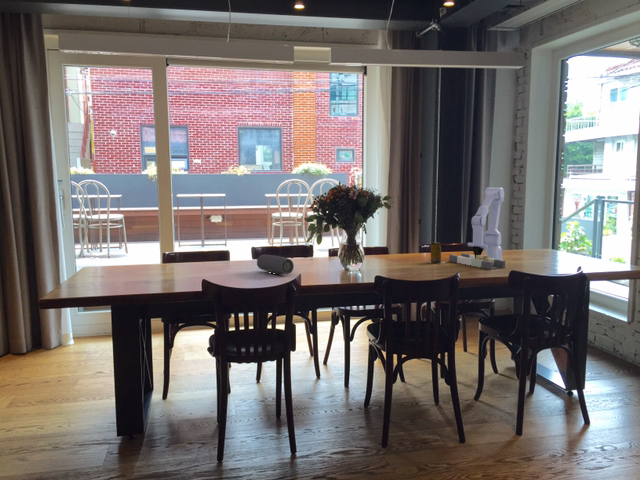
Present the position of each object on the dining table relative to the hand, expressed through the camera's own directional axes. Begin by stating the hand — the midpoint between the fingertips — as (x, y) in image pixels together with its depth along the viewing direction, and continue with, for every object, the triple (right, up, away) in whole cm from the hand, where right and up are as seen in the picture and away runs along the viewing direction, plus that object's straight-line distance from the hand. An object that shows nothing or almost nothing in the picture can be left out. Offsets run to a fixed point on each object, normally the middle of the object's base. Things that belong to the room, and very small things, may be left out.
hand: (477, 259), depth 314 cm
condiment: (-22, -2, +10) cm, 24 cm away
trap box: (0, -3, +1) cm, 3 cm away
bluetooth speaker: (-116, -7, -18) cm, 118 cm away
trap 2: (+6, -4, -11) cm, 13 cm away
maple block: (+2, -1, -3) cm, 4 cm away
